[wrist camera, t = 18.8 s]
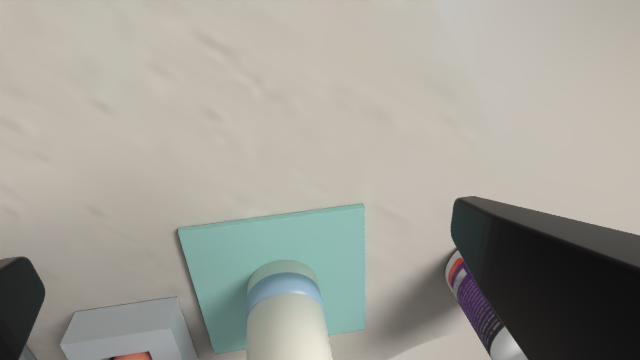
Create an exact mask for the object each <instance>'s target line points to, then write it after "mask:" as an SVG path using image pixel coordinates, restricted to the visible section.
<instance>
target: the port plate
mask: <svg viewBox="0 0 640 360" xmlns="http://www.w3.org/2000/svg"><path fill="white" fill-rule="evenodd" d="M19 360H36V359H35V357H34V356H33V354H32V353H31V351H30V350H29V348H28V347H27V345H25V347H24V350H23V352H22V354H21V356H20V359H19Z"/></svg>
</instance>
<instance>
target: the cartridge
mask: <svg viewBox="0 0 640 360" xmlns="http://www.w3.org/2000/svg"><path fill="white" fill-rule="evenodd" d="M246 327H247V359H246V360H333V358H332V352H331V347H330V342H329V337H328V332H327V327H326V322H325V312H324V307H323V302H322V297H321V292H320V289H319V286H318V281H317V277H316V275H315V273H314V271H313V270H312V269H311V268H310V267H309V266H307V265H305V264H304V263H301V262H298V261H295V260H277V261H273V262H270V263H267V264H265V265H263V266H261V267H260V268H258V269H257V270H256V271H255V272H254V273H253V274H252V276H251V277H250V279H249V281H248V286H247V300H246Z"/></svg>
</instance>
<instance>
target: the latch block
mask: <svg viewBox="0 0 640 360" xmlns="http://www.w3.org/2000/svg"><path fill="white" fill-rule="evenodd" d="M59 346H60V347H61V349H62V351H63V352H64V354H65V356H66V357H67V359H68V360H114V357H116V356H122V355H128V354H134V353H140V352H147V351H149V352H150V355H151V357H152V359H153V360H198V357H197V354H196V351H195V348H194V346H193V343H192V340H191V337H190V334H189V331H188V328H187V325H186V322H185V319H184V316H183V313H182V310H181V307H180V304H179V301H178V298H177V297H172V298H165V299H159V300H152V301H145V302H138V303H132V304H125V305H118V306H112V307H105V308H98V309H91V310H85V311H78V312H75V314H74V316H73V318H72V320H71V322H70V324H69V326H68V328H67V331H66V333H65V335H64V337H63V339H62V341H61V343H60V345H59Z"/></svg>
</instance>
